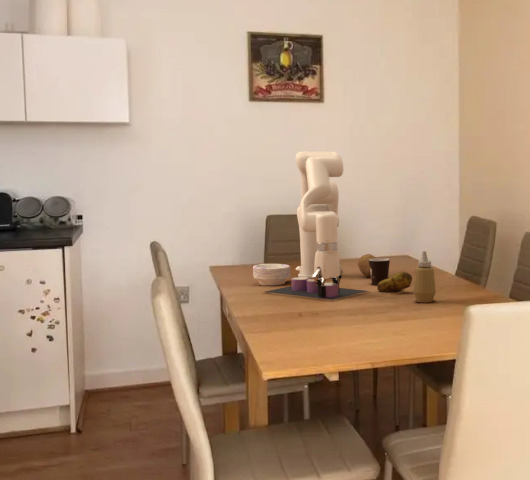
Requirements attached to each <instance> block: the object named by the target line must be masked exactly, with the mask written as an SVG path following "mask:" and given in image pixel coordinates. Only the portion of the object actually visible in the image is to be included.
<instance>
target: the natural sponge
mask: <svg viewBox="0 0 530 480" xmlns="http://www.w3.org/2000/svg"><path fill="white" fill-rule="evenodd" d="M376 258H377V257H376V256H375V255H373V254H371V253H365V254H364V255H362V256H360V258H359V259H358V260H357V261H358V262H357V266H358V269H359V271H360V273H361V274H362V275H363V276H364V277H366V278H371V274H370V266H369V259H376Z"/></svg>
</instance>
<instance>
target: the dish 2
mask: <svg viewBox="0 0 530 480" xmlns="http://www.w3.org/2000/svg"><path fill="white" fill-rule="evenodd" d="M324 286H325V290H326V296H325V297H324V298H332V297H337V296H339V291H338V284H337V283H333V282H325V284H324Z"/></svg>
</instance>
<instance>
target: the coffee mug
mask: <svg viewBox="0 0 530 480" xmlns="http://www.w3.org/2000/svg"><path fill="white" fill-rule="evenodd" d="M390 262H391V259H390V258H386V257H385V258H381V257H380V258H377V257H376V259H369V266H370V274H371V276H370V280H371V285H373V286H378V283H379V282H381V281H383V280H385V279H388V278H389V273H390V264H391V263H390Z"/></svg>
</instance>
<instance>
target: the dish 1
mask: <svg viewBox="0 0 530 480" xmlns="http://www.w3.org/2000/svg"><path fill="white" fill-rule="evenodd" d="M308 279H311V278H308V277H298V276H296V277H292V278H291V279H290V280H291V282H290V283H291V286H292V290H293V291H307V285H306V280H308Z"/></svg>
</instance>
